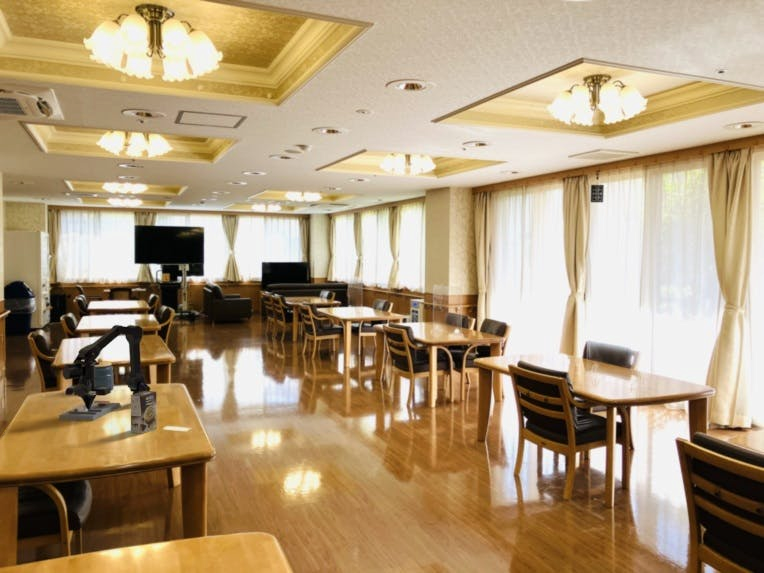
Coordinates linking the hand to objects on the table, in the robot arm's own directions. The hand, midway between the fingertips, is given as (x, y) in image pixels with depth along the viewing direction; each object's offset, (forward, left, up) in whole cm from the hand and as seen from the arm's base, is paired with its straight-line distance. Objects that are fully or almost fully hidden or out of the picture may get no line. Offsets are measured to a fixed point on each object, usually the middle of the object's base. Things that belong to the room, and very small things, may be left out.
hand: (88, 409), depth 270 cm
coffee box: (-34, +16, -4) cm, 38 cm away
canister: (+23, -49, -4) cm, 54 cm away
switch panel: (+3, -6, -4) cm, 7 cm away
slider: (+3, 0, -2) cm, 3 cm away
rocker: (+1, -12, 0) cm, 12 cm away
